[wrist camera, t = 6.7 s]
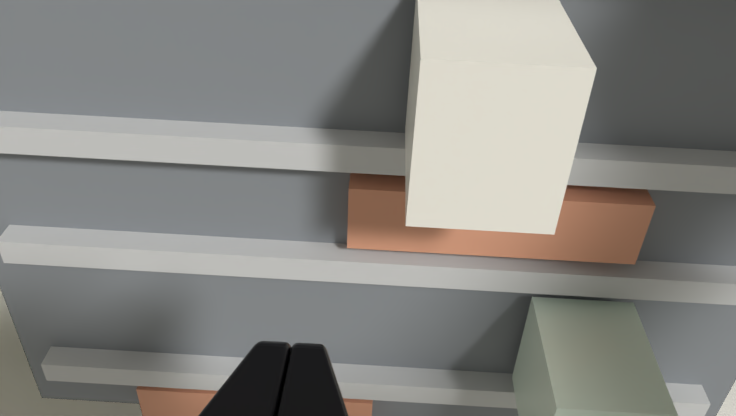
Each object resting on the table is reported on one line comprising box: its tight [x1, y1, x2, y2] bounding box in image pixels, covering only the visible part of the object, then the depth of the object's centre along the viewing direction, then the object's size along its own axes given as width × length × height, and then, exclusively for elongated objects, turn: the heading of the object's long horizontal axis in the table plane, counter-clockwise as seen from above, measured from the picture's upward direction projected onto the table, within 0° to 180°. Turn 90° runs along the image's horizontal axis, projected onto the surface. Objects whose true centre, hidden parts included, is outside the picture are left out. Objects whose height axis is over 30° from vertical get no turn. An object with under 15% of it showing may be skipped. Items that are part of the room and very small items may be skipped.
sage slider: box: [512, 297, 678, 416], centre depth 19 cm, size 3×4×4 cm
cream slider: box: [405, 0, 597, 235], centre depth 14 cm, size 3×4×4 cm
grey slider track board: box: [0, 0, 736, 416], centre depth 19 cm, size 24×20×2 cm
